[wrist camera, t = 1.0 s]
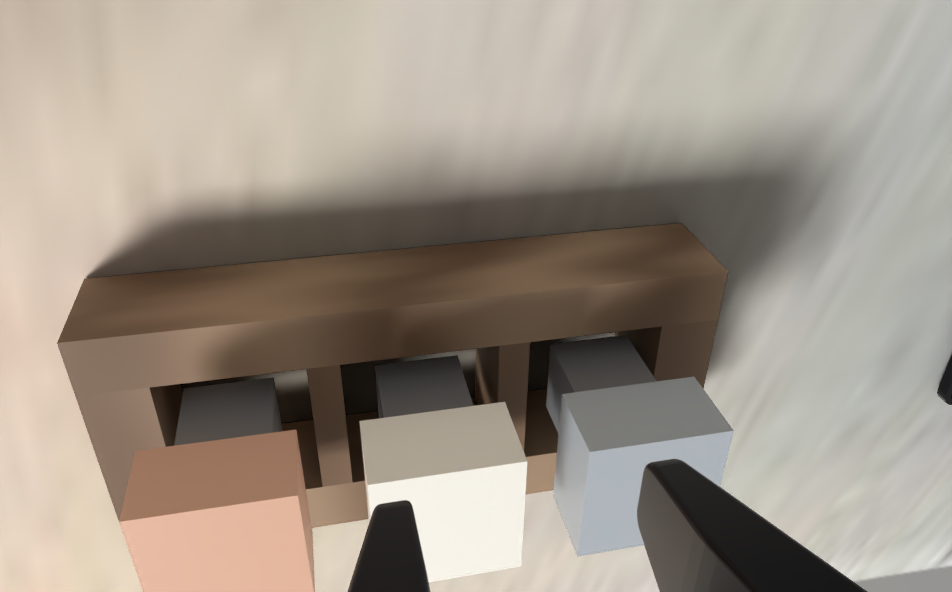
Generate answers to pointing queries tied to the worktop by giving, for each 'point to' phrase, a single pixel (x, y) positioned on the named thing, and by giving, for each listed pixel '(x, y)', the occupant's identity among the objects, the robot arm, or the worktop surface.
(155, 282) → the key panel
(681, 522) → the robot arm
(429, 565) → the key ivory
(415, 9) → the worktop surface
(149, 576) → the key terracotta
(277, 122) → the worktop surface
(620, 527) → the key slate
